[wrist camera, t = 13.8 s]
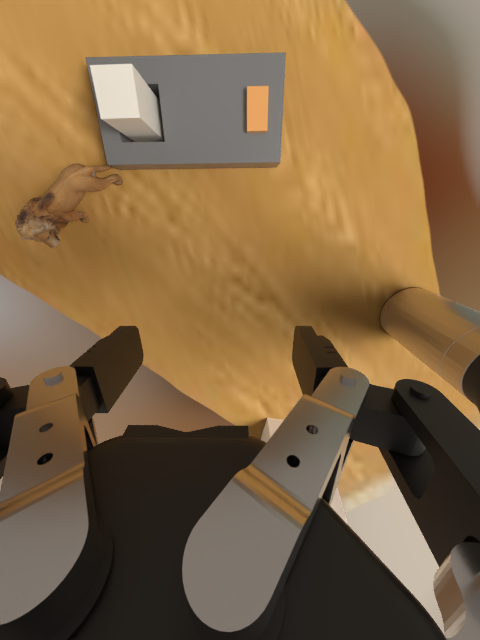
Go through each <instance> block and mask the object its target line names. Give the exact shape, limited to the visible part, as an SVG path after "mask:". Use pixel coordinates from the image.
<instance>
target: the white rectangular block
mask: <svg viewBox="0 0 480 640" xmlns="http://www.w3.org/2000/svg"><path fill="white" fill-rule="evenodd" d="M90 69H91V74H92V78H93V83H94V88H95V93H96V98H97V103H98V108H99V112H100V117H101V119H102V120H103V121H105V122H106V123H108V124H109V125H111V126H112V127H114V128H115V129H117V130H118V131H120V132H121V133H123V134H124V135H126V136H127V137H129V138H130V139H131V140H133V141H134V142H165V139H164V130H163V121H162V113H161V104H160V101H159V100H158V98H157V97H156V96H155V94H154V93H153V92H152V90H151V89H150V88H149V86H148V85H147V83H146V82H145V81H144V79H143V78H142V77H141V75H140V74H139V73H138V71H137V70H136V69H135V67H134V66H133V65H132V64H107V65H90Z"/></svg>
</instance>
